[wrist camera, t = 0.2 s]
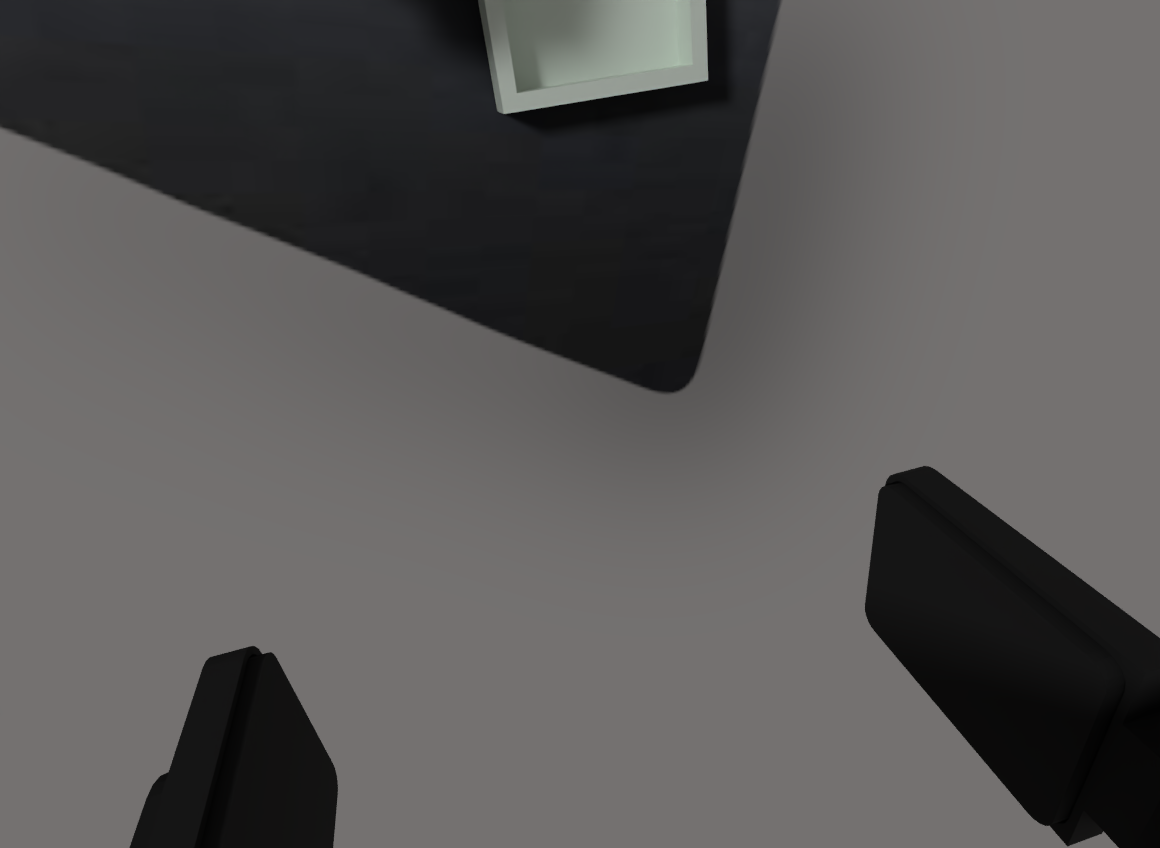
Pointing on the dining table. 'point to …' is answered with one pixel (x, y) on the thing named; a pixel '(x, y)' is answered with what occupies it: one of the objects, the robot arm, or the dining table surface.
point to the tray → (590, 48)
